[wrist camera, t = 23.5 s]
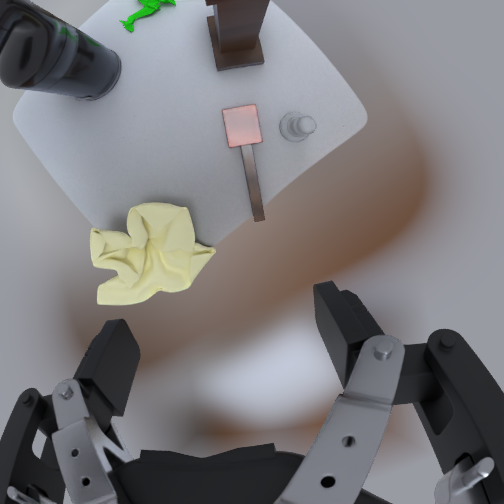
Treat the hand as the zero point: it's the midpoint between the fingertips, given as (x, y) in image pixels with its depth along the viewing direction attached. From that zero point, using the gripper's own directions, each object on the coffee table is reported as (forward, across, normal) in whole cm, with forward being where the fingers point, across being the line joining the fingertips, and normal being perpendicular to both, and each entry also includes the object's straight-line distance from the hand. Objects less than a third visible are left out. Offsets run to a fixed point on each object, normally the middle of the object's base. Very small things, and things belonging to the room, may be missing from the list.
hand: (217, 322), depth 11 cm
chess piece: (+33, -12, -7) cm, 36 cm away
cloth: (+27, +14, +8) cm, 32 cm away
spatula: (+33, -4, -3) cm, 33 cm away
